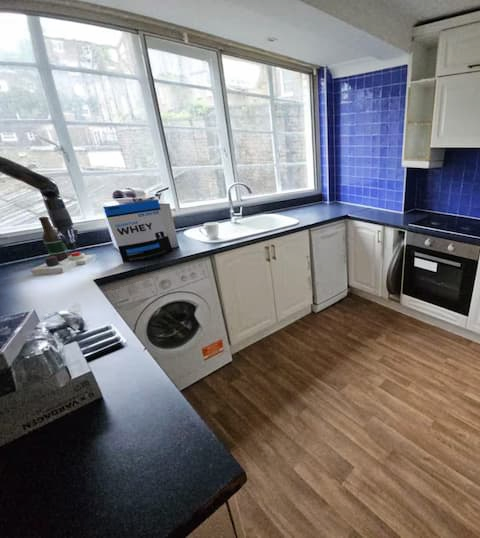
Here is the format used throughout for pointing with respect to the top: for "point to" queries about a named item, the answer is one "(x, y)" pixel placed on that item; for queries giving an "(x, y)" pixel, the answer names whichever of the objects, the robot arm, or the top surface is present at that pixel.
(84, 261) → the switch block
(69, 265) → the control panel
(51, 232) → the beer bottle
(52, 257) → the dial
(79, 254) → the power button
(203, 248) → the top surface
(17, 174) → the robot arm
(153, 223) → the protein powder
